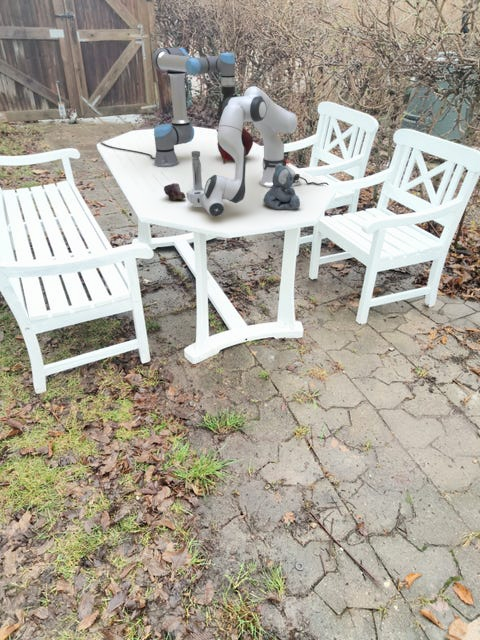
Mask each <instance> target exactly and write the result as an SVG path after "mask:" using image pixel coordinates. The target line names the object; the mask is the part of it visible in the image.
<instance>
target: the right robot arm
mask: <svg viewBox="0 0 480 640" xmlns="http://www.w3.org/2000/svg"><path fill="white" fill-rule="evenodd" d="M222 112H223V113H222V116H221V119H220V118H219V123H218V128H217V129H218V132H217V134H216V137H217V138H216V139H217V144H218V143H219V144H220V146H221V147H222V148H223V149H224V150H225V151H226V152H228V153H229V154H230V155H231V156H232V157H233V158H234V160H233V161H234V163H235V164H234V165H235V167H234V179H232V178H228V177H225V176H221V175H219V174H213V175H211V176H210V177H209V178H208V179H207V180H206V183H205V186H204V189H202V190H197V189H194V188H193V190H188V191H186V199H187V201H188V202H189V203H190V204H192V207H194V208H204V210H205V211H206V213H207V214H209V215H210V216H211V217H219V216H221V215H223V214H224V212H225V204H224V202H223V200H226V201H228V202H232V203H233V204H237V203H240V202H241V201H242V200H244V199H245V196H246V165H247V164H246V163H247V156H246V150H245V147H244V146H243V144H242V139H241V135H242V129H243V128H244V123H252V124H253V126H254V128H255V129H256V130H257V131H258V133H259V135H260V136H261V139H262V142H263V143H262V144H263V158H262V177H261V179H260V185H261V186H263V187H266V188H272V185H273V181H272V180H273V174H274V172H275V167H276V165H278V164H281V165H282V166H283V167H285V168H287V169H288V170H289V171H290V173H291V174H292V177H294V178H295V182H294V183H293V184H292V186H291V187H294V186H299V185H300V184H301V183H300V179H302V180H303V181H305V184H307V185H311V184H312V185H313V184H314V185H317V186H320V185H324V184H325V185H327V186H329V185H330V184H329V183H328V182H325V181H324V182H319V183H317V182H314V181H311V182H308V181H307V179H306V178H305V177H302V176H300V173H296V172H295V170H294V169H292V168H291V167H290V166H289V164H290V160H289V159H287V158H285V143H284V141H282V139H280V138H279V137H278V134H283V135H285V134H292V133H294V132H295V131H296V130H297V128H298V126H299V125H298V124H299V121H298V119H299V118H298V117H297V114H296V113H294V112H292V111H289V110H287V109H285V108H284V107H282V106H280V105H279V104H277V103H275V102H274V101H273V99H271V98H270V96H269V95H268V94H267V93H266V92H265V91H264V90H262V88H260V87H258V86H255V85H252V86H249V87H247V88H246V89H245V91H244V93H243V96H242V95H241V96H240V95H239V96H237V97H229V98H227V99H226V100H225V101H224V103H223V106H222Z"/></svg>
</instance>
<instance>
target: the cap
mask: <svg viewBox="0 0 480 640" xmlns="http://www.w3.org/2000/svg"><path fill="white" fill-rule="evenodd" d="M190 154H191V158H193V157H199V158H200V157H201V151H199V150H192V151H191V152H190Z"/></svg>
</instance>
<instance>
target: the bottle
mask: <svg viewBox="0 0 480 640" xmlns="http://www.w3.org/2000/svg"><path fill="white" fill-rule="evenodd" d="M191 170H192V185H193V186H192V187H193V190H194V189H197V190H203V178H202V162H201V159H200V157H192V161H191Z"/></svg>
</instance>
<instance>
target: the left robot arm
mask: <svg viewBox="0 0 480 640" xmlns="http://www.w3.org/2000/svg"><path fill="white" fill-rule="evenodd" d="M151 61H152V64H153V67H154V68H155V69H156V70H158V71H160V72H166V74H167V75H168V76H169V79H170V80H169V81H170V82H169V83H170V91H171V92H170V93H171V102H172V113H173V119H172V121H171V123H161V124H158V125H156V126H155V127H154V129H153V136H154V145H155V155H154V157H153V155H152V154H150V153H146V152H142V151H137V150H132V149H127V148H126V149H125V148H121V147H116V146H112V145H108V144H105V143H104V142H102V141H100V144H101V145H103V146H106V147H108V148H112V149H115V150H120V151H121V150H122V151H127V152H132V153H133V152H134V153H137V154H138V153H139V154H143V155H147V156H150V158H151V159H152V160H154V165H155V166H157V167H163V168H164V167H165V168H167V167H168V168H169V167H174V166H177V165H178V164H179V159H178V157H177V153H176V151H175V146H178V145H183V144H187V143H191V142H192V141H193V139H194V137H195V129H194V125H193V124H192V123H191V121H190V119H188V111H187V97H186V96H187V95H186V84H185V76H186V74H187V73H188V75H201V74H212V73H220V85H221V87H220V88H221V89H220V91H221V94H222V96H220V97H219V105H218V109H217V114H216V116H217V118H219V120H220V119H221V116H222V113H223V112H222V106H223V103H224V101H225V100H226V99H227V98H229V97H238V95H237V94H236V57H235V53H233V52H221V53H220V55H219V56H217V55H209V56H203V57H202V56H201V57H194V56H189V53H188V52H187V50H186V49H185V48H184V47H176V46H175V47H165V48H164V47H163V48H158V49H156V50H155V52H153V54H152V59H151Z"/></svg>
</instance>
